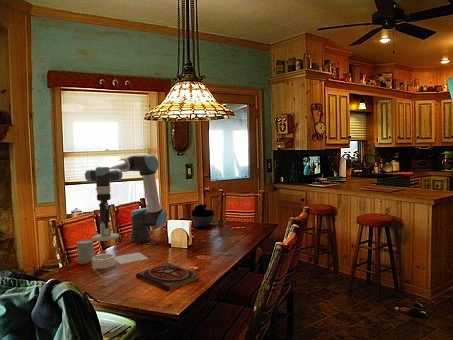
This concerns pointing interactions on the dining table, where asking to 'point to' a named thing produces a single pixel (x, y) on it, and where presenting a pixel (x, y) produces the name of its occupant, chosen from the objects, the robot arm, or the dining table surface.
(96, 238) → the sage lid
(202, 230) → the dining table surface
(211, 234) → the dining table surface
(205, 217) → the bowl of black rocks
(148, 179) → the robot arm
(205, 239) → the dining table surface
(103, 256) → the ceramic bowl
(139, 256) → the grey mat
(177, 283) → the book
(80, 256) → the grey cylindrical piece
